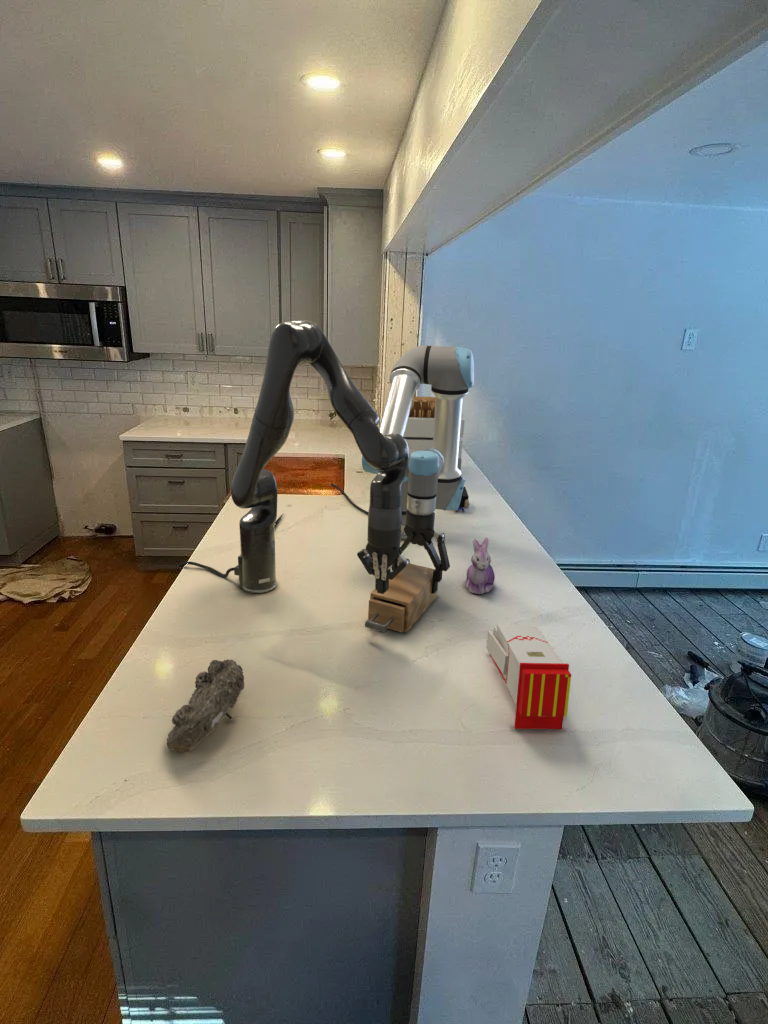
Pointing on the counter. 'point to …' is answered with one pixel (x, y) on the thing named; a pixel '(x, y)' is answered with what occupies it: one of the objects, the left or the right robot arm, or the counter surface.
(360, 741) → the counter surface
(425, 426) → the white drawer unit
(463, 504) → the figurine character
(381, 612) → the drawer
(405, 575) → the cabinet
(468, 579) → the figurine
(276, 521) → the feather
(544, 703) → the toy
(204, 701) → the fossil
